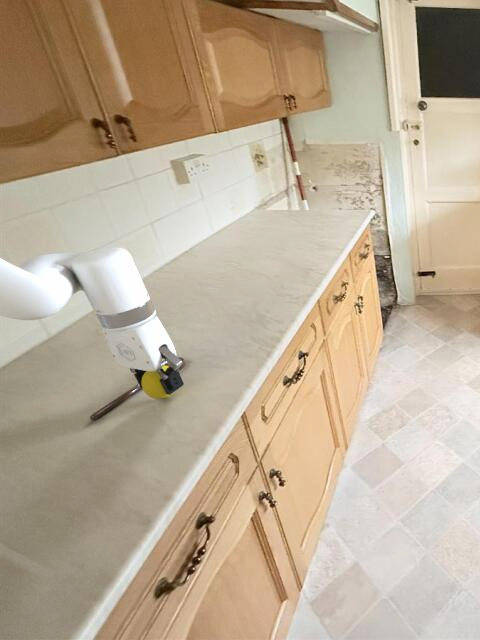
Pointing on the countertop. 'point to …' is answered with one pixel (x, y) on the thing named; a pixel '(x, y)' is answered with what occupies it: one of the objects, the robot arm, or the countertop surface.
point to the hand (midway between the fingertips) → (162, 386)
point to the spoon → (123, 397)
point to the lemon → (154, 384)
